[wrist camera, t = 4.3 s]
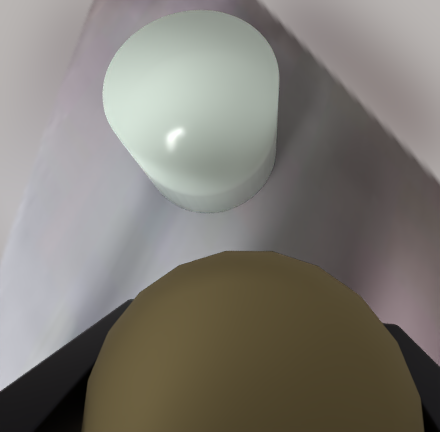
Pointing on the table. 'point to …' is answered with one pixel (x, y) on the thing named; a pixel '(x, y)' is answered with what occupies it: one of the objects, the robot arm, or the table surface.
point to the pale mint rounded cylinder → (197, 107)
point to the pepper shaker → (250, 355)
